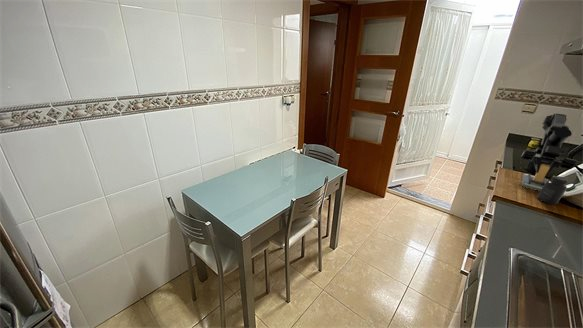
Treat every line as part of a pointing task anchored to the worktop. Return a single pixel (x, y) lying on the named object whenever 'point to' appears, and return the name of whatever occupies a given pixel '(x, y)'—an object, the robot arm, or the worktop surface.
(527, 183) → the grey rail base
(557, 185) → the supplement bottle
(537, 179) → the handle
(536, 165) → the robot arm
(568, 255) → the worktop surface
